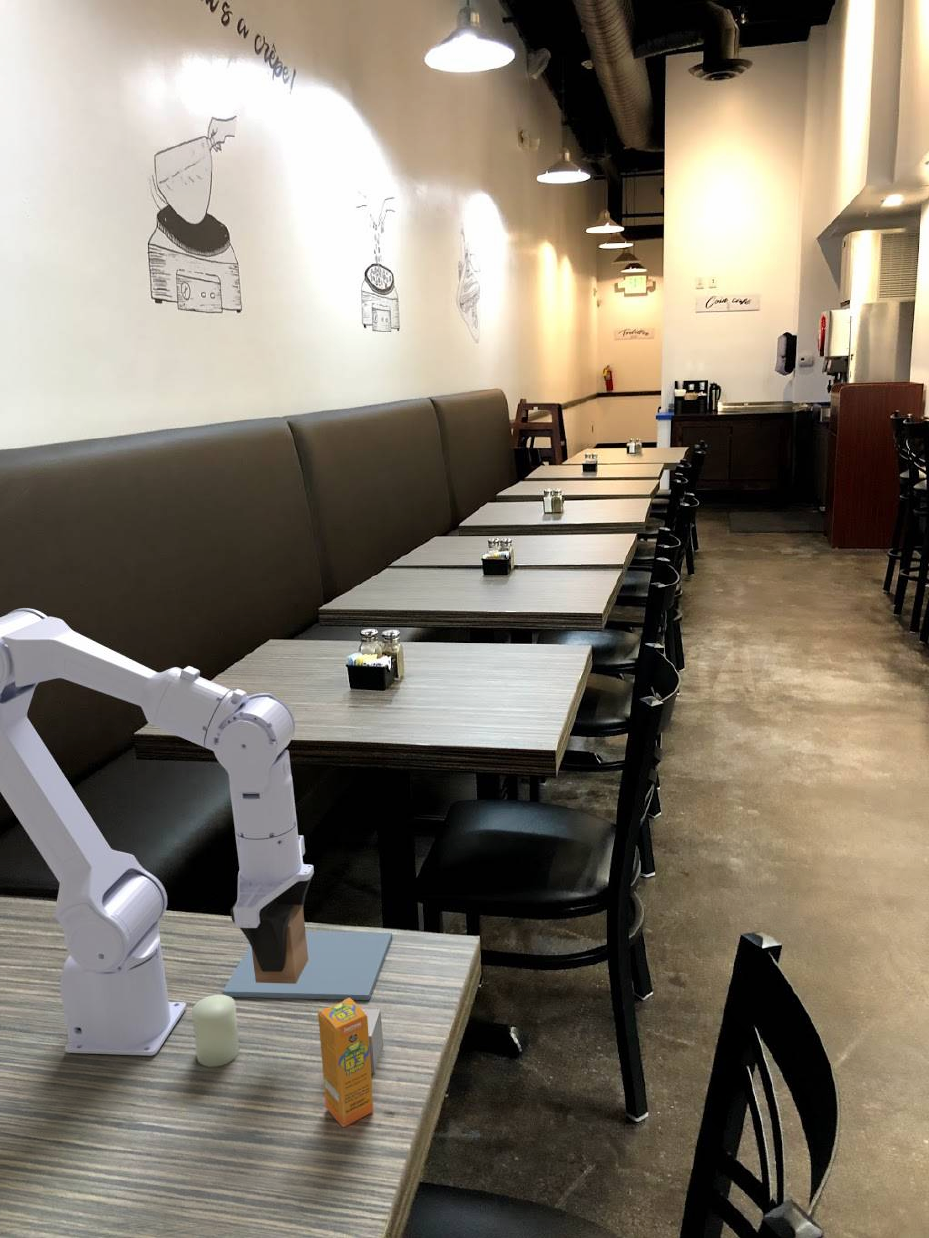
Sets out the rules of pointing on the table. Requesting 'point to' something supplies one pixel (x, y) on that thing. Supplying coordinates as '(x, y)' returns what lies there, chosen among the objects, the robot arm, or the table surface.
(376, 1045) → the grey cube
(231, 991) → the slate mat
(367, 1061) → the supplement box
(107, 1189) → the table surface
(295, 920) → the walnut block
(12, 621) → the robot arm
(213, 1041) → the sage cylinder
